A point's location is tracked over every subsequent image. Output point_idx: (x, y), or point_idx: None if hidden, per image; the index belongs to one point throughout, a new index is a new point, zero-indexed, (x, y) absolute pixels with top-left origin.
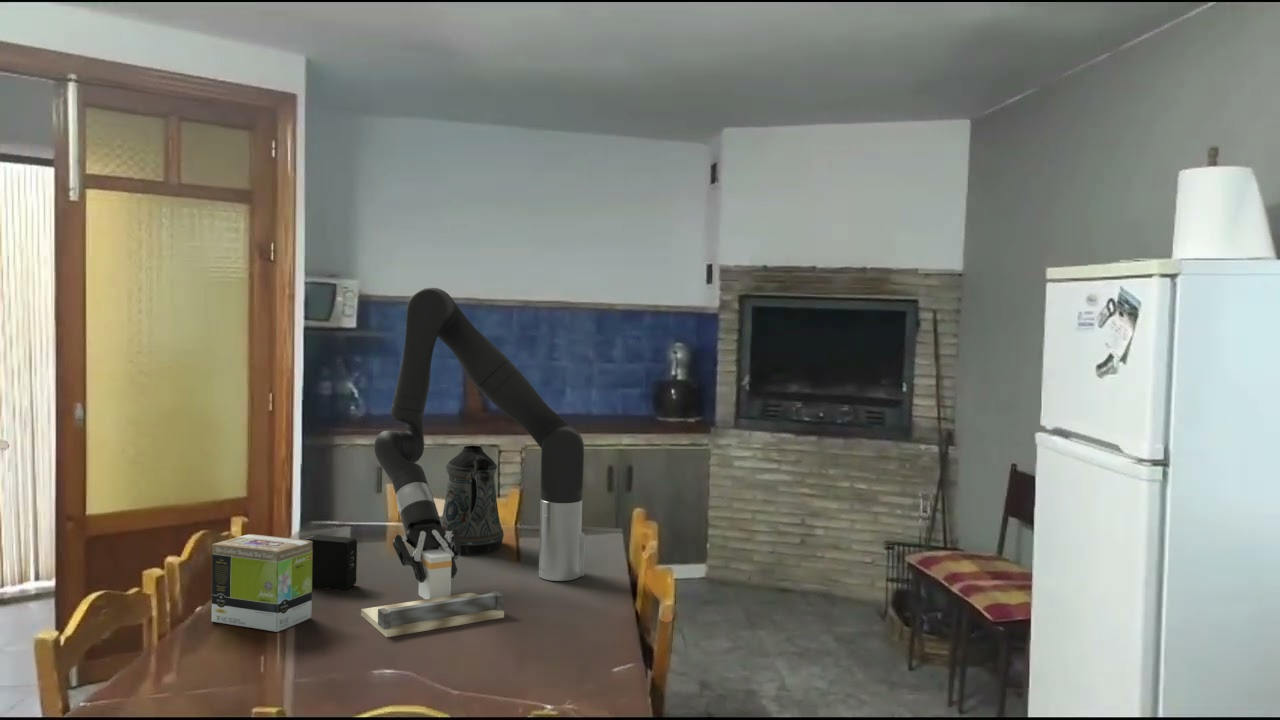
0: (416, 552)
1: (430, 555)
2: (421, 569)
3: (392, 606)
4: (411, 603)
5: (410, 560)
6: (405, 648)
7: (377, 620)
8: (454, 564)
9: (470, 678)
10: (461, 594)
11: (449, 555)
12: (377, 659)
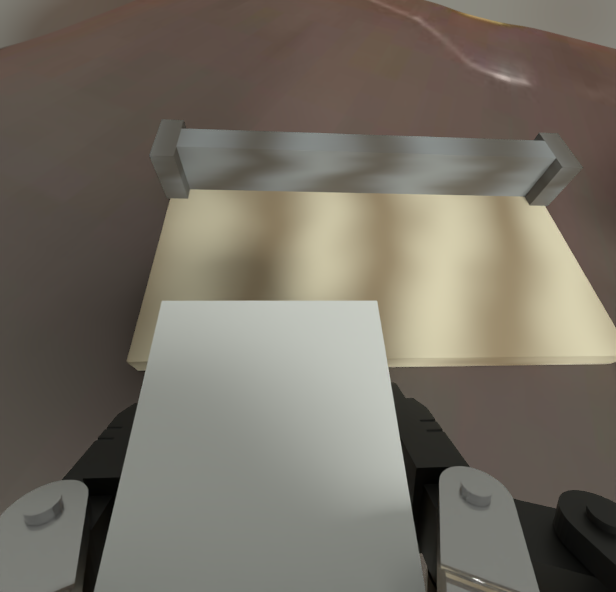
0: (520, 578)
1: (355, 386)
2: (407, 414)
3: (507, 331)
4: (430, 335)
5: (538, 516)
6: (469, 124)
7: (551, 229)
8: (102, 446)
9: (388, 30)
10: None
11: (181, 304)
12: (524, 109)
